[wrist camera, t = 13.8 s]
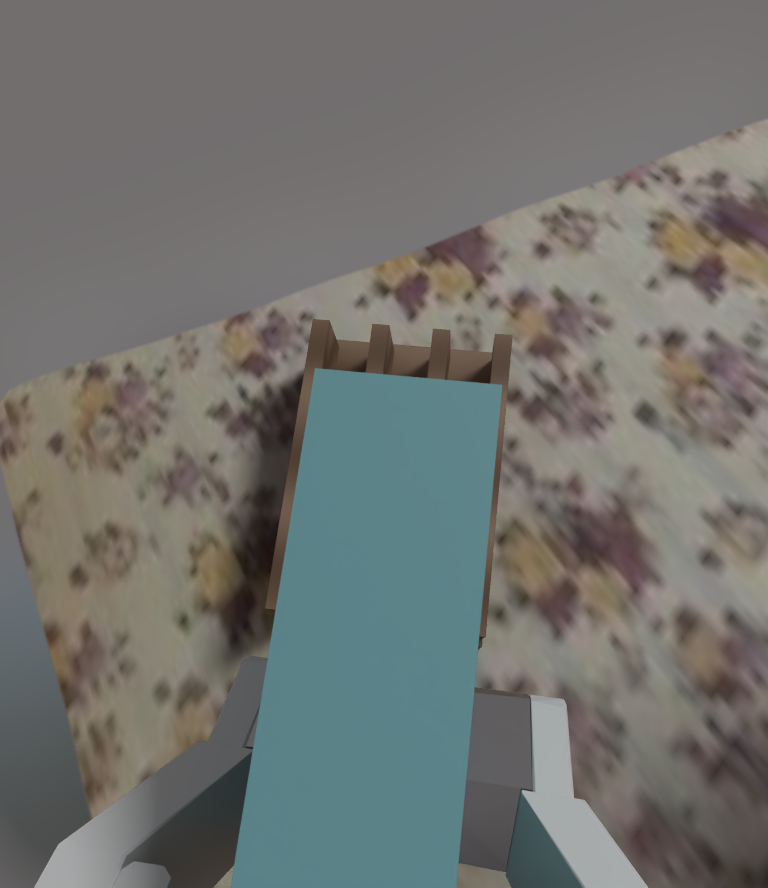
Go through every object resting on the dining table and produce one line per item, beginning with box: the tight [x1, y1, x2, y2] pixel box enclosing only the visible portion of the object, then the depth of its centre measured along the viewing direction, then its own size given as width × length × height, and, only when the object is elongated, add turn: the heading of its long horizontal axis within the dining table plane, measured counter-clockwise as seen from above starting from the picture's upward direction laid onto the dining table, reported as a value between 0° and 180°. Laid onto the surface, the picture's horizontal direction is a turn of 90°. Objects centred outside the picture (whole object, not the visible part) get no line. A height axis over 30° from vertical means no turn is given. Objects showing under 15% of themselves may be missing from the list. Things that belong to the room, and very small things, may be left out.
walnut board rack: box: [265, 319, 512, 647], centre depth 44 cm, size 18×12×6 cm, turn 173°
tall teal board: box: [230, 368, 502, 888], centre depth 13 cm, size 6×2×14 cm, turn 173°
